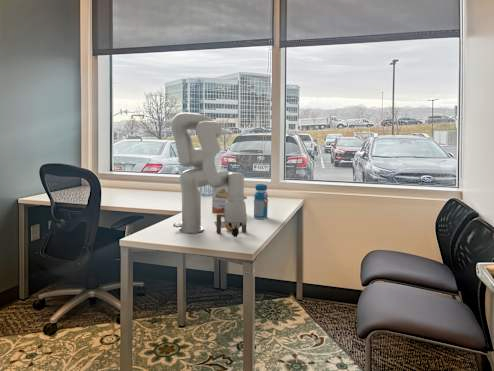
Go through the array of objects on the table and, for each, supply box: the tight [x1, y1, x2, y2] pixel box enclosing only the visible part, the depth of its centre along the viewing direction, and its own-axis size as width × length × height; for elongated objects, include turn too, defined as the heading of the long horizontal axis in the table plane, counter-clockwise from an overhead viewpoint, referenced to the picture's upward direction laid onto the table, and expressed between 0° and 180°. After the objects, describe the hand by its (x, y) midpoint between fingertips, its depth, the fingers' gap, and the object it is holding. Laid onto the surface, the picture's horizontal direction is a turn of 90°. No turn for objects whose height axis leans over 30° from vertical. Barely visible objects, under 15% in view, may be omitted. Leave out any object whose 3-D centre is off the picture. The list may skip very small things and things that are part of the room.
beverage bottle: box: [253, 183, 269, 220], centre depth 231 cm, size 8×8×20 cm
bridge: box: [215, 213, 248, 234], centre depth 197 cm, size 15×3×10 cm, turn 100°
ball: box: [224, 223, 236, 232], centre depth 202 cm, size 6×6×6 cm
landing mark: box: [214, 220, 237, 229], centre depth 215 cm, size 13×13×1 cm
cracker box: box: [211, 186, 228, 214], centre depth 245 cm, size 14×6×21 cm, turn 80°
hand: (235, 236), depth 185 cm, fingers closed
